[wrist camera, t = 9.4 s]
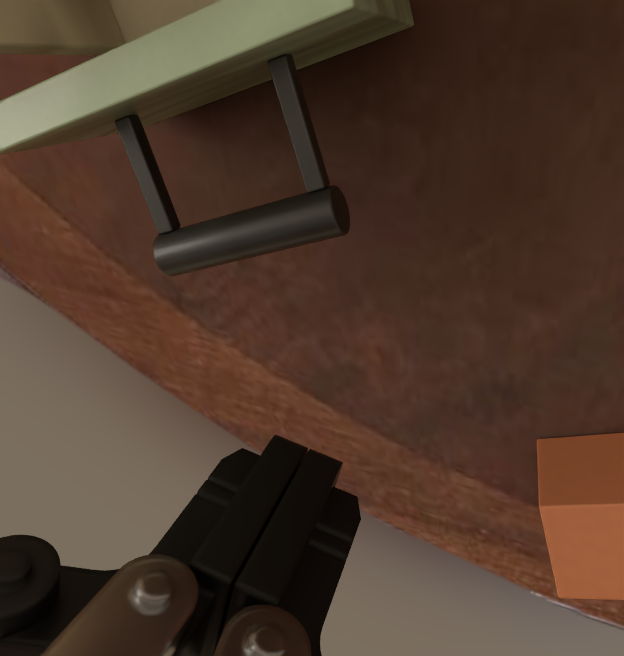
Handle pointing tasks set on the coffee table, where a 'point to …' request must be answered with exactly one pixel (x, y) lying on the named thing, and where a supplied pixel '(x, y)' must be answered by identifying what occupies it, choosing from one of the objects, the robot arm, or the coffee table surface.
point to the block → (584, 513)
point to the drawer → (189, 97)
